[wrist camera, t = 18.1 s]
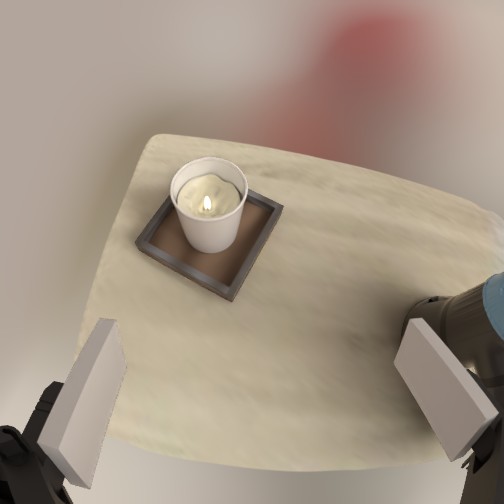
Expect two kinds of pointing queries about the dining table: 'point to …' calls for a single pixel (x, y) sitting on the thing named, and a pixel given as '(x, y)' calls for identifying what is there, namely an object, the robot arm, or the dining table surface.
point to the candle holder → (209, 202)
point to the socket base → (216, 264)
